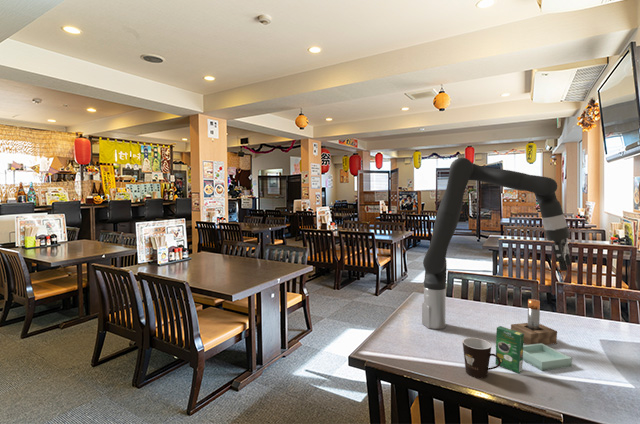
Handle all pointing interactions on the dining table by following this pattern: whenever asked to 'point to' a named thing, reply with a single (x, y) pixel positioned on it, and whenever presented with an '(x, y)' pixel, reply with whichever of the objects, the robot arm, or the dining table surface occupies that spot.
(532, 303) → the pin
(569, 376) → the dining table surface
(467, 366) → the coffee mug
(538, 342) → the block
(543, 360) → the tray
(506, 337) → the coffee box
